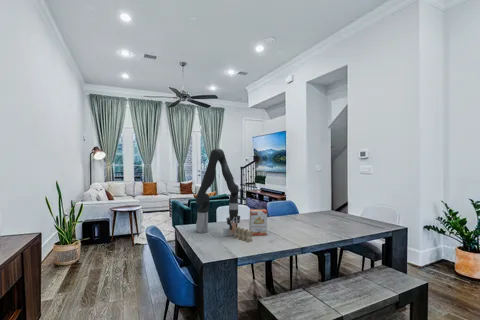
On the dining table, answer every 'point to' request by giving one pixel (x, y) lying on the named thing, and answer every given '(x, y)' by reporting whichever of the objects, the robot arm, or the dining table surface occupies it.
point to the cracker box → (258, 222)
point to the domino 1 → (233, 227)
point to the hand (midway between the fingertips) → (233, 229)
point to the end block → (227, 232)
